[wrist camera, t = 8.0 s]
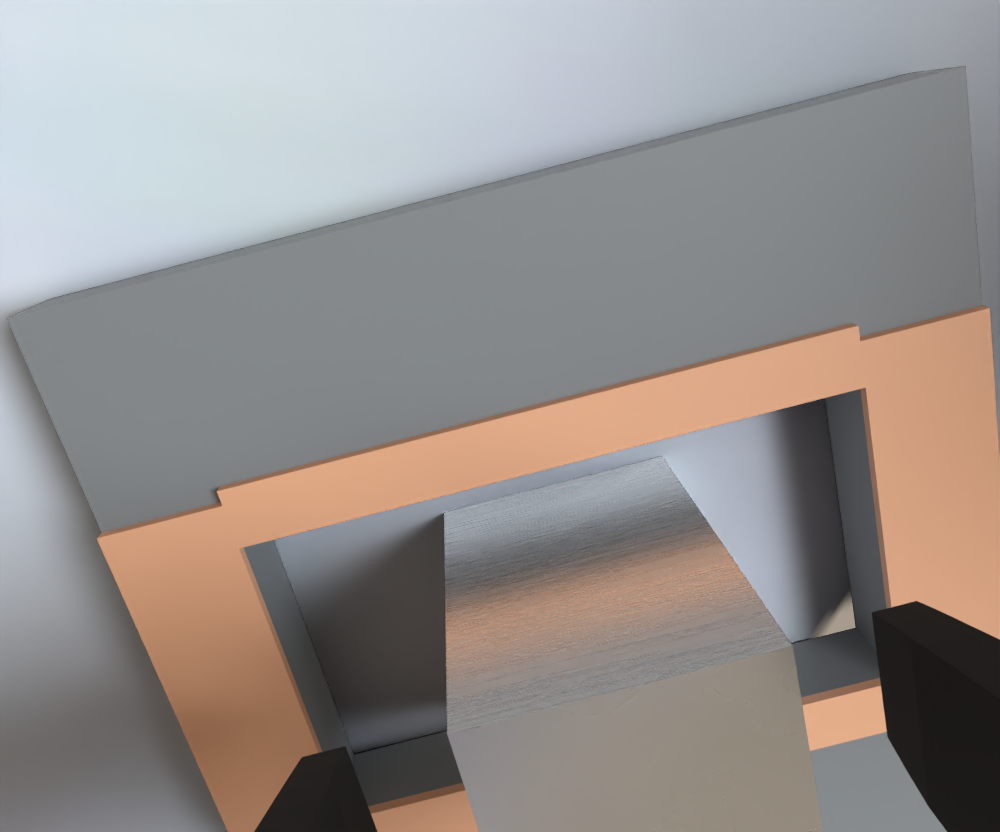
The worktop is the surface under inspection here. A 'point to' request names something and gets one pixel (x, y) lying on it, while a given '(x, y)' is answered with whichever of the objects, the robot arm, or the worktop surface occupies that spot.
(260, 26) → the worktop surface
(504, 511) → the block
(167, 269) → the rail plate
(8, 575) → the worktop surface
